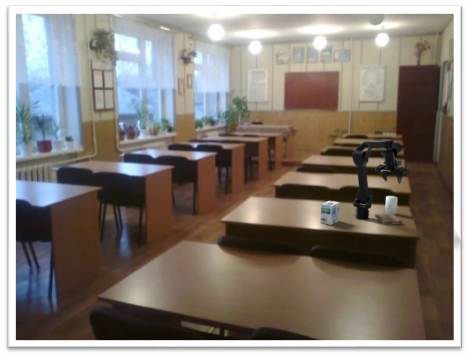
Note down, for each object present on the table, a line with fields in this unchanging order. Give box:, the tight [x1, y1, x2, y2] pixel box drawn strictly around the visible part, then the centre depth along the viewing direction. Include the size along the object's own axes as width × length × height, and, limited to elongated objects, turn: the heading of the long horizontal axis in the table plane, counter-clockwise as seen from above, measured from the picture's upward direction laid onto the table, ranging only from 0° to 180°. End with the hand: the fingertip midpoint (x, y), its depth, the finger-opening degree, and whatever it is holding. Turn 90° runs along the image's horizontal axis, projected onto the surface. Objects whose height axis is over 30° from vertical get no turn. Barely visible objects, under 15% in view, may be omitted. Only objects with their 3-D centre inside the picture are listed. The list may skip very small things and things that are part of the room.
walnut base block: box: [374, 213, 403, 225], centre depth 244 cm, size 10×14×2 cm
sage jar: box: [384, 195, 399, 216], centre depth 258 cm, size 6×6×10 cm
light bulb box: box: [320, 200, 341, 226], centre depth 241 cm, size 11×7×11 cm, turn 143°
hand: (393, 182), depth 264 cm, fingers open, 9 cm apart
